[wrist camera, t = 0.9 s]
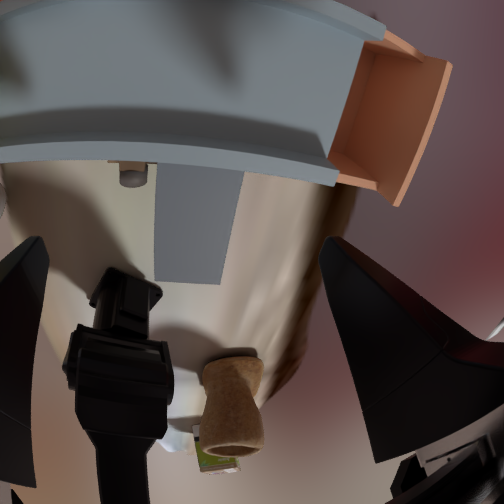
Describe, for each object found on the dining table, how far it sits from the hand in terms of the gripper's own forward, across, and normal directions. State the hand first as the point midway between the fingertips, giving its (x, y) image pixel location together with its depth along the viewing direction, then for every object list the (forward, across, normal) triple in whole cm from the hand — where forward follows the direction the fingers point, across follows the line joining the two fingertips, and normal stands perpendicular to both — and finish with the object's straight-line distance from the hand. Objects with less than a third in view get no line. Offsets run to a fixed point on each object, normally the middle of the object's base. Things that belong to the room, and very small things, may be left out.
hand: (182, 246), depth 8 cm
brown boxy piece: (+14, -9, -4) cm, 17 cm away
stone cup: (+13, -7, +38) cm, 41 cm away
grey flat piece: (+7, +4, -1) cm, 8 cm away
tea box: (+12, -6, +79) cm, 80 cm away
